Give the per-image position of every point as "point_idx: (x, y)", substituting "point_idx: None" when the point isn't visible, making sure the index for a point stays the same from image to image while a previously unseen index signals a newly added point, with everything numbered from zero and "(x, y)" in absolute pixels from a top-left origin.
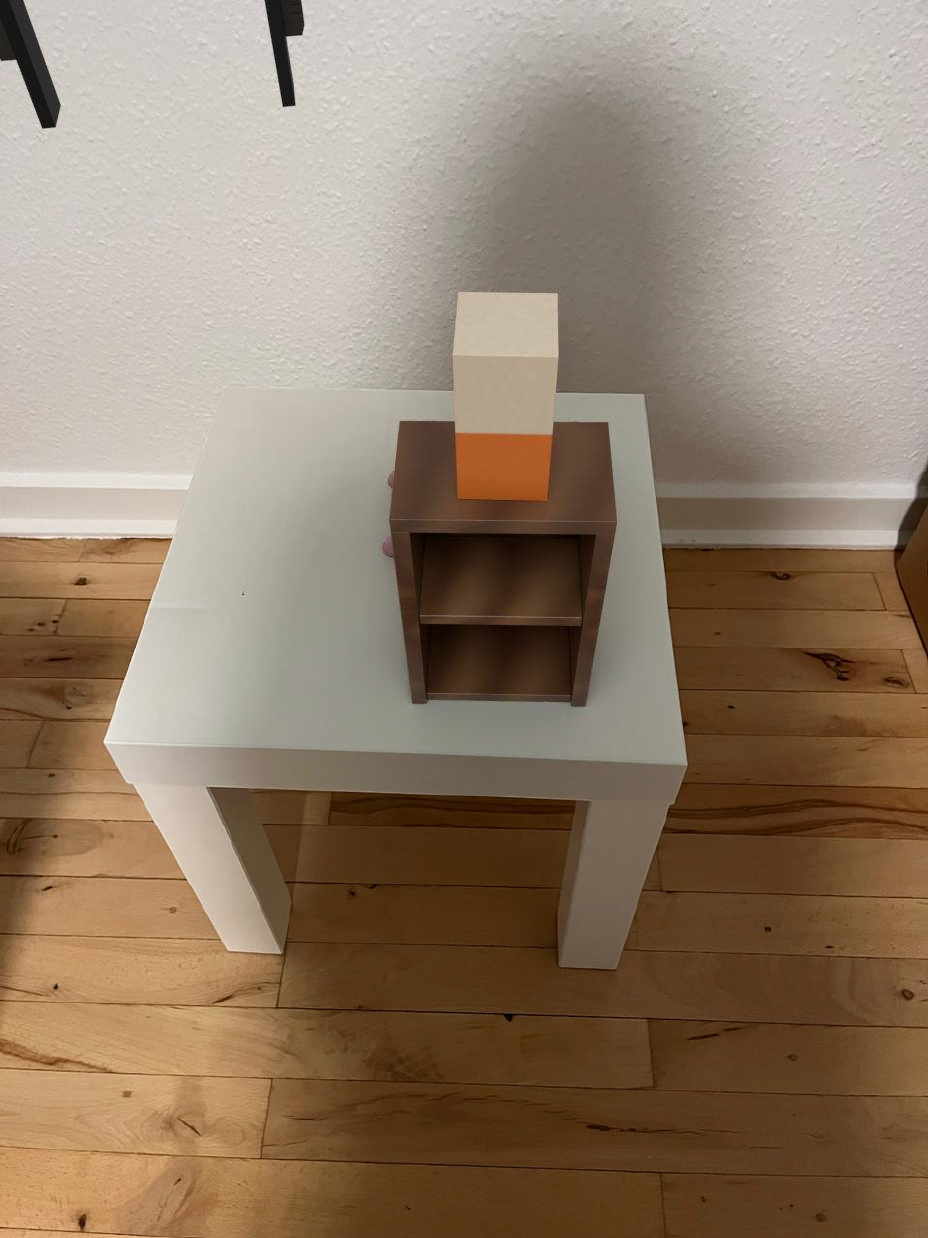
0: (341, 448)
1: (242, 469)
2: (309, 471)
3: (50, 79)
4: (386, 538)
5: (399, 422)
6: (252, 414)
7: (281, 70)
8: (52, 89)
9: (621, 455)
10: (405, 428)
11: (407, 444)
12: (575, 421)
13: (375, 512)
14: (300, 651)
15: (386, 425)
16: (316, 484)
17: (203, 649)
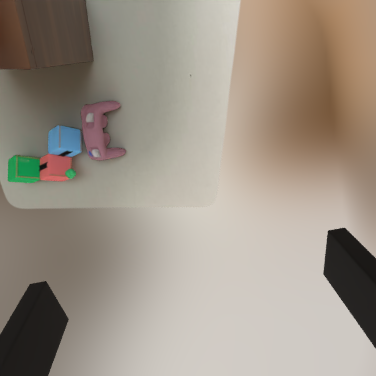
0: (155, 176)
1: (203, 160)
2: (169, 160)
3: (342, 295)
4: (116, 107)
5: (30, 66)
6: (203, 196)
7: (18, 321)
8: (337, 283)
9: None
10: (22, 58)
11: (14, 38)
12: (15, 177)
13: (130, 133)
14: (153, 33)
15: (135, 191)
16: (164, 151)
17: (206, 34)
